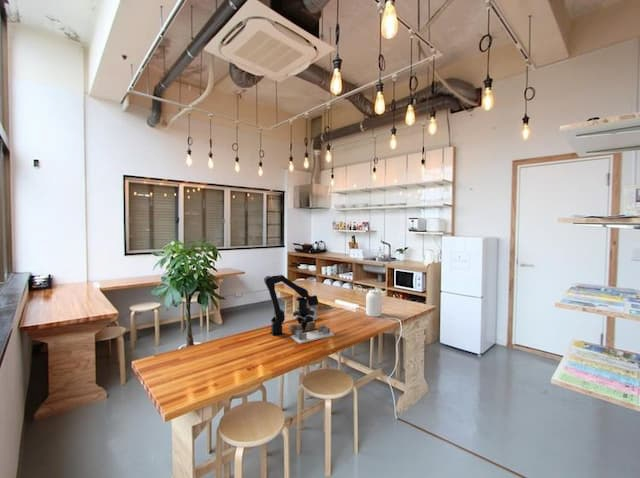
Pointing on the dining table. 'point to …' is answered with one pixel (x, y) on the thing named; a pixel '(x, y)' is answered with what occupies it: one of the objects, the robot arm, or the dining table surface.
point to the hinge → (314, 314)
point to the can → (374, 303)
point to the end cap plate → (312, 334)
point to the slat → (299, 327)
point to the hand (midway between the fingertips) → (302, 328)
